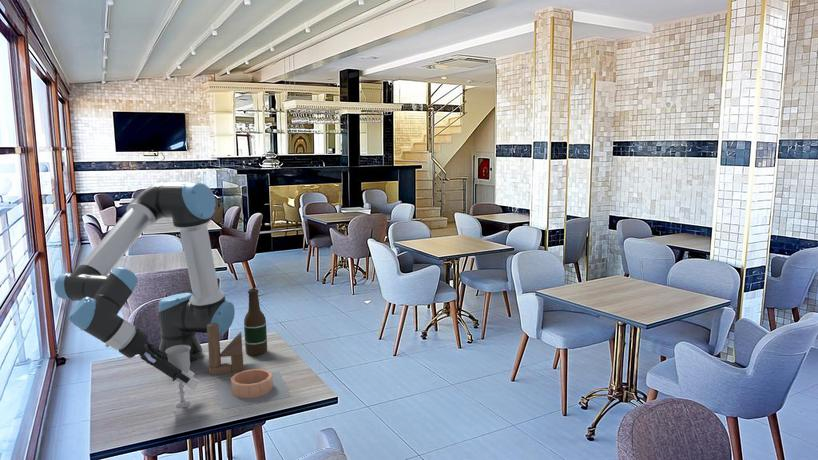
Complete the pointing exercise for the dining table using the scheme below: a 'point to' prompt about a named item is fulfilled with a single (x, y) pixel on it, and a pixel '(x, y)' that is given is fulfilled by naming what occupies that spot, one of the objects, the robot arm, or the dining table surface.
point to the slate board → (232, 401)
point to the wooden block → (223, 352)
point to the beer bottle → (255, 327)
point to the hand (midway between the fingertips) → (193, 381)
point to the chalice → (180, 367)
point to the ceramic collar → (254, 389)
